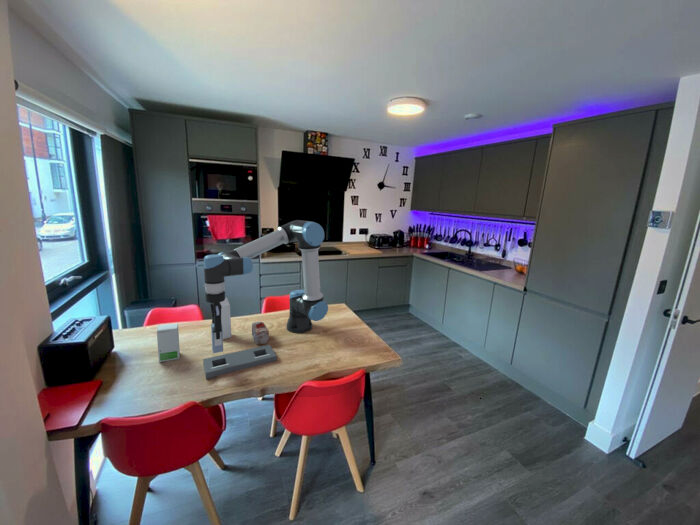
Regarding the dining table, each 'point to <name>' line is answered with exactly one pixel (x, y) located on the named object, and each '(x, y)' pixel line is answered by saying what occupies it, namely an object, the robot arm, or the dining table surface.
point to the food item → (260, 333)
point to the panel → (238, 361)
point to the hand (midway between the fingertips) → (217, 342)
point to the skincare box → (168, 342)
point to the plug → (214, 348)
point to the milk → (225, 318)
